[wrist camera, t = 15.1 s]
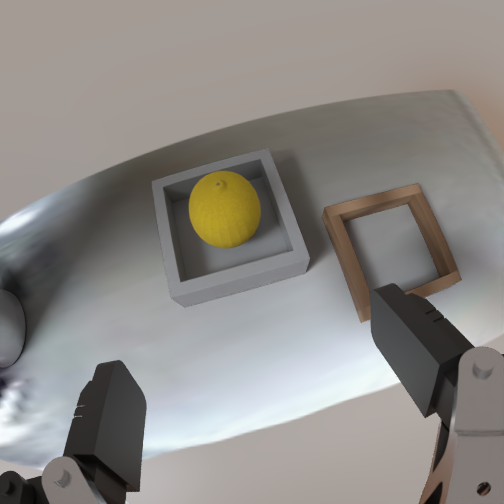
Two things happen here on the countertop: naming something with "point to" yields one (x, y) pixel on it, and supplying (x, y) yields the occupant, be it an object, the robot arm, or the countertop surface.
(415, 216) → the cradle
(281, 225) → the holder
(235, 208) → the lemon
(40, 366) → the countertop surface
